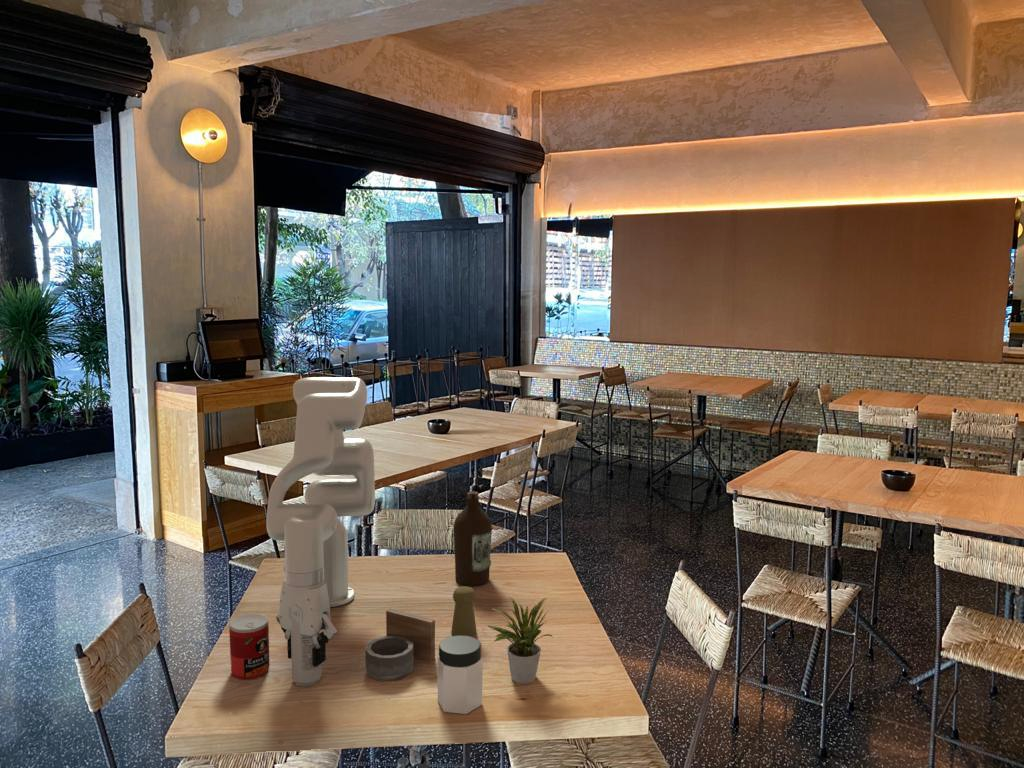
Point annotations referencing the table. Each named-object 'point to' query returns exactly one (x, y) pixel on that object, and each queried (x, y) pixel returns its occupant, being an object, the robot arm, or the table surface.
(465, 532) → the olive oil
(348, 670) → the table surface
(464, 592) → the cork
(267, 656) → the canned food
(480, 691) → the jar
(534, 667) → the house plant
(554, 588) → the table surface
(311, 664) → the energy drink can
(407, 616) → the cup bracket
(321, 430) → the robot arm
